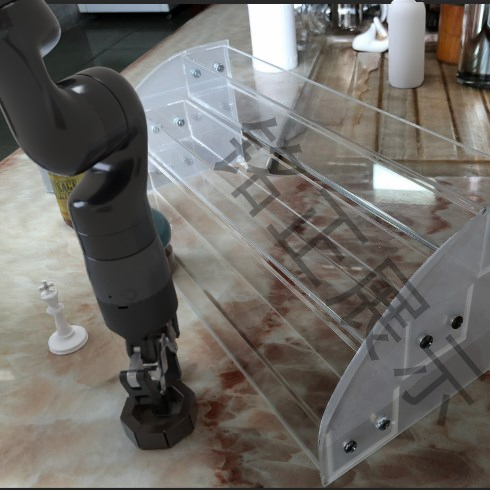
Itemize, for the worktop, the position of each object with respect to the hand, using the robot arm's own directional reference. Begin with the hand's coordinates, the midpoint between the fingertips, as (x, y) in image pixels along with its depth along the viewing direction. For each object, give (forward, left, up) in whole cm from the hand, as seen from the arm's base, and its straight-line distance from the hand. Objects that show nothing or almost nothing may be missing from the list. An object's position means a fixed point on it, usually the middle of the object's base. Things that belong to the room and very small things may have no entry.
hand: (168, 394), depth 68 cm
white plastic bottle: (+39, +101, -1) cm, 108 cm away
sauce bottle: (-24, +42, -1) cm, 48 cm away
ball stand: (-8, +26, -1) cm, 27 cm away
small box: (-31, +56, -1) cm, 64 cm away
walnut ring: (0, -3, -1) cm, 3 cm away
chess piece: (-16, +11, -1) cm, 19 cm away
